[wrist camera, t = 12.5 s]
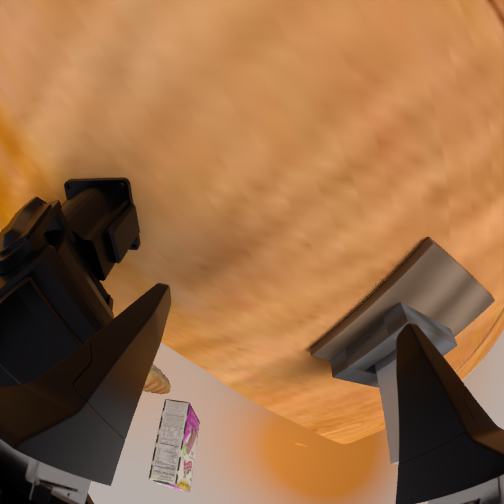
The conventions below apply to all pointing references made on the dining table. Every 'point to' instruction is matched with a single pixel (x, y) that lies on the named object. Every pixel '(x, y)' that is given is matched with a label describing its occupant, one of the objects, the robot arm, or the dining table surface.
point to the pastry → (156, 382)
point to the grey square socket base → (405, 314)
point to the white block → (389, 401)
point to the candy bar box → (175, 446)
